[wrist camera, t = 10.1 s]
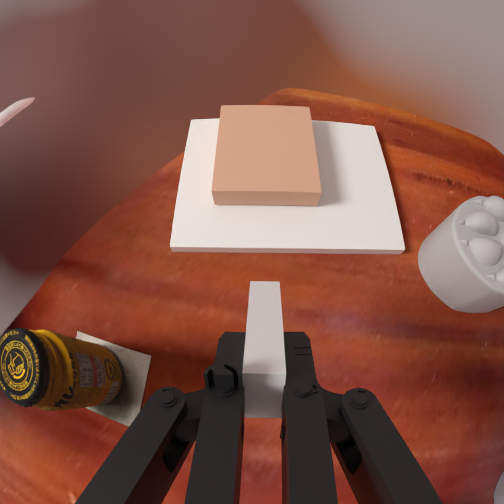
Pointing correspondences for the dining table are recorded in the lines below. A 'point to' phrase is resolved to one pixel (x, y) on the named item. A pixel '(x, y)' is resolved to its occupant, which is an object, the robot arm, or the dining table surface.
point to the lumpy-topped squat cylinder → (467, 256)
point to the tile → (265, 157)
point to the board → (293, 216)
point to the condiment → (72, 373)
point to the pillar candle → (499, 491)
